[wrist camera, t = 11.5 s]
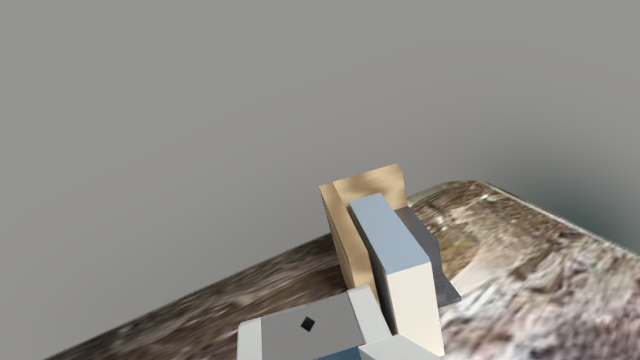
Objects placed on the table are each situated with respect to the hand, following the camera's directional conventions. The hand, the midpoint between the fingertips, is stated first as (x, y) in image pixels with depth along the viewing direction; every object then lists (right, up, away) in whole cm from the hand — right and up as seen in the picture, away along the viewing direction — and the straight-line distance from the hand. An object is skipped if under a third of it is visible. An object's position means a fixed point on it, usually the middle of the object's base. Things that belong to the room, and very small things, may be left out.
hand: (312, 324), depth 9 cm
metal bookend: (+14, -12, +46) cm, 49 cm away
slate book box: (+11, -14, +42) cm, 45 cm away
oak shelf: (+10, -14, +44) cm, 47 cm away
